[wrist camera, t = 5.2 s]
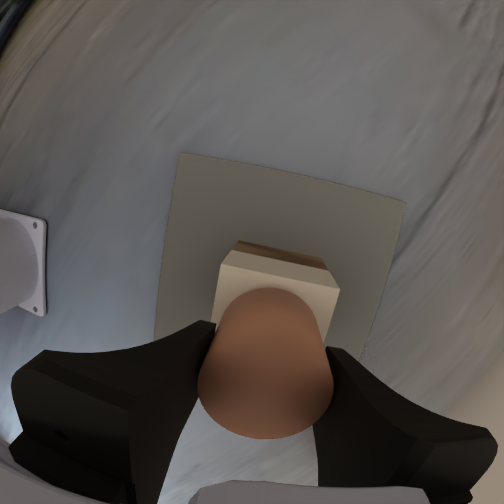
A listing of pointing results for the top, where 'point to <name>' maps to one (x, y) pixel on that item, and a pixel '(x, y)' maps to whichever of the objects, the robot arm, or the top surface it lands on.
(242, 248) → the tower base
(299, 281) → the tower mid
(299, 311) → the cylinder
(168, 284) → the mat
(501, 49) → the top surface
